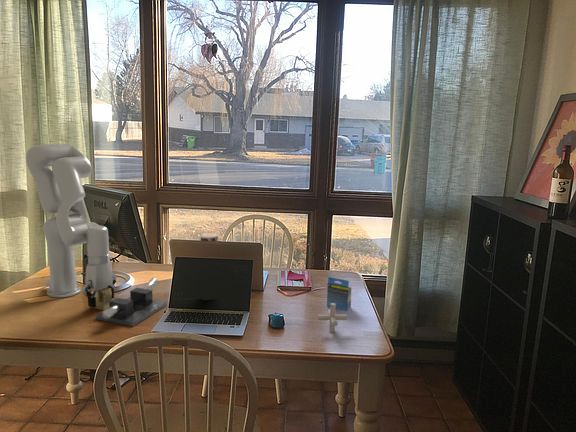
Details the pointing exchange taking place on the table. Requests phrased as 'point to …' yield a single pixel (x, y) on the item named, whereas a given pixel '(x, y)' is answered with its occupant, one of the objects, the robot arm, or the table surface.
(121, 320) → the shaft bench
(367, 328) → the table surface
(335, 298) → the label tape box
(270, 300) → the table surface
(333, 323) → the pipe connector
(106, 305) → the cream rectangular block
